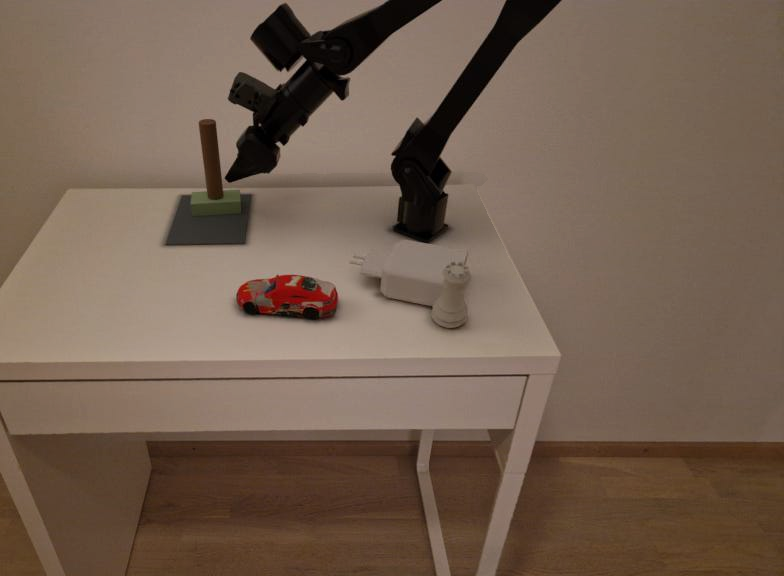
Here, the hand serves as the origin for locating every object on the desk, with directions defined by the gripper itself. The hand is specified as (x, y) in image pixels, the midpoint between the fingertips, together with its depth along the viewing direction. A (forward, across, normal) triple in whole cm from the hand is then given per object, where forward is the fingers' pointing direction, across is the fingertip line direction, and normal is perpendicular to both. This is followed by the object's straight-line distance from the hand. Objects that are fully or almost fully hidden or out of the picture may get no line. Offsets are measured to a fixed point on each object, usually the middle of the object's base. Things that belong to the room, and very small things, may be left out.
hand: (233, 168), depth 94 cm
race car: (-4, +27, +14) cm, 31 cm away
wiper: (+7, +1, +2) cm, 7 cm away
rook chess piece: (-18, +28, +28) cm, 44 cm away
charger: (-14, +20, +24) cm, 35 cm away
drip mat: (+7, +4, +2) cm, 9 cm away
